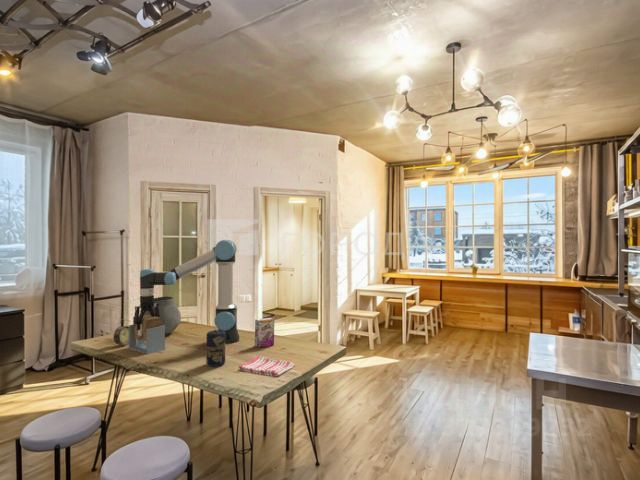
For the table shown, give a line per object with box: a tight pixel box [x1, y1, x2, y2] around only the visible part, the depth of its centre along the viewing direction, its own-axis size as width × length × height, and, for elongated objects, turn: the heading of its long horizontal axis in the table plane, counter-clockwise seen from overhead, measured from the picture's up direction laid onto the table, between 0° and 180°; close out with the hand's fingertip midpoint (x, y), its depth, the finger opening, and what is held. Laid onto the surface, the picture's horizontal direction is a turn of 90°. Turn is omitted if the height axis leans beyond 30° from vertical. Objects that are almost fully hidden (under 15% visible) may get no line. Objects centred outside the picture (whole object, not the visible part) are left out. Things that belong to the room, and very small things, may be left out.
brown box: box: [132, 315, 161, 340], centre depth 218 cm, size 15×8×12 cm, turn 57°
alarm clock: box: [113, 318, 129, 348], centre depth 225 cm, size 11×5×16 cm, turn 168°
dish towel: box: [238, 355, 296, 377], centre depth 187 cm, size 17×23×4 cm
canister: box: [205, 329, 226, 367], centre depth 192 cm, size 10×10×18 cm
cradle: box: [128, 324, 166, 355], centre depth 218 cm, size 19×11×14 cm, turn 57°
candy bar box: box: [254, 317, 275, 349], centre depth 226 cm, size 11×5×16 cm, turn 123°
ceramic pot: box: [144, 295, 182, 335], centre depth 253 cm, size 24×24×25 cm
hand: (146, 333), depth 218 cm, fingers closed on brown box, 8 cm apart
